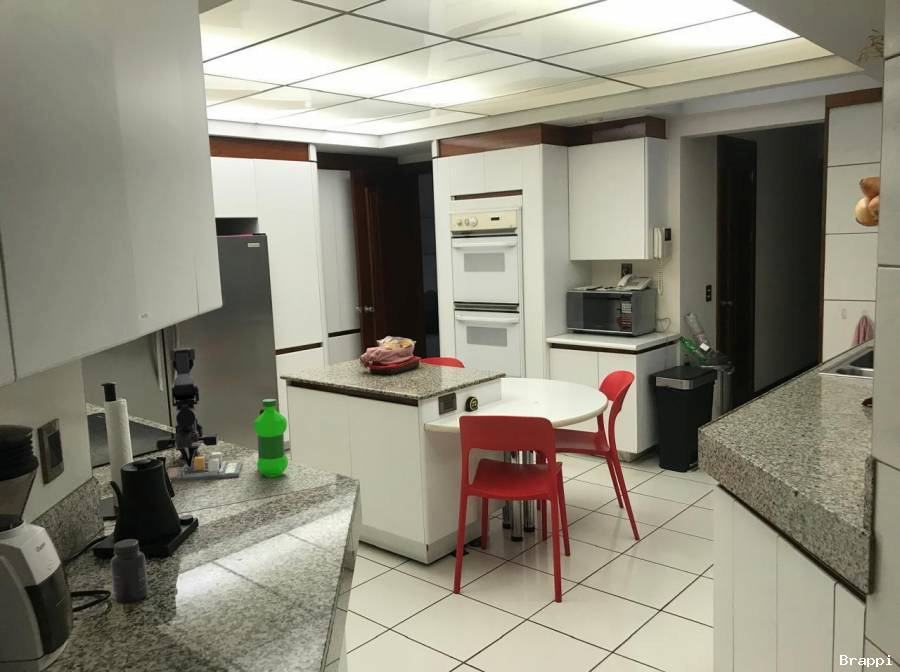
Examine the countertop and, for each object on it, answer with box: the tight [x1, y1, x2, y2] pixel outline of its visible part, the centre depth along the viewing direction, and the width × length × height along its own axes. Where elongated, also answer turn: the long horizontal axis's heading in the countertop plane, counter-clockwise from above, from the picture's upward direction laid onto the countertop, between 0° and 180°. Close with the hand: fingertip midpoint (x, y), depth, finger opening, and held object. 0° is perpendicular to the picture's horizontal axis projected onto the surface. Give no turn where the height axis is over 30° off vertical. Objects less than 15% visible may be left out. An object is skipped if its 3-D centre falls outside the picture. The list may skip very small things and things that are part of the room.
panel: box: [166, 460, 243, 483], centre depth 240 cm, size 13×24×2 cm, turn 101°
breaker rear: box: [210, 451, 223, 466], centre depth 245 cm, size 3×3×4 cm
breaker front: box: [207, 458, 219, 473], centre depth 237 cm, size 3×3×4 cm
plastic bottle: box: [253, 398, 289, 478], centre depth 237 cm, size 10×10×25 cm
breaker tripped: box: [193, 455, 206, 470], centre depth 240 cm, size 3×3×4 cm
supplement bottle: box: [109, 538, 149, 604], centre depth 154 cm, size 7×7×12 cm
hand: (189, 466), depth 239 cm, fingers closed
